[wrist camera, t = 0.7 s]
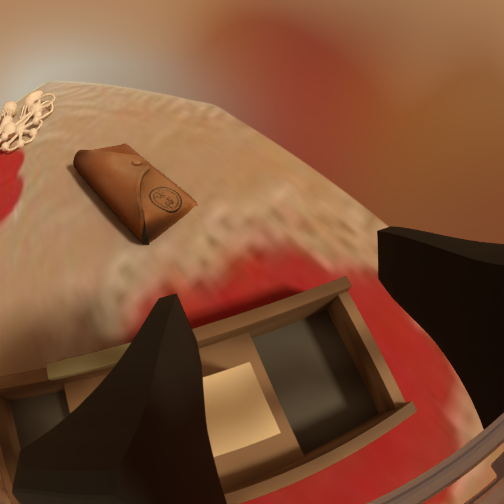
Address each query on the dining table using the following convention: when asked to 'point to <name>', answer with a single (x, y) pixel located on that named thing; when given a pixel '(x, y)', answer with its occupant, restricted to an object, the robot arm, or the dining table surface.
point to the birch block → (236, 410)
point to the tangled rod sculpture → (14, 130)
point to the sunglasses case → (134, 190)
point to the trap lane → (270, 380)
